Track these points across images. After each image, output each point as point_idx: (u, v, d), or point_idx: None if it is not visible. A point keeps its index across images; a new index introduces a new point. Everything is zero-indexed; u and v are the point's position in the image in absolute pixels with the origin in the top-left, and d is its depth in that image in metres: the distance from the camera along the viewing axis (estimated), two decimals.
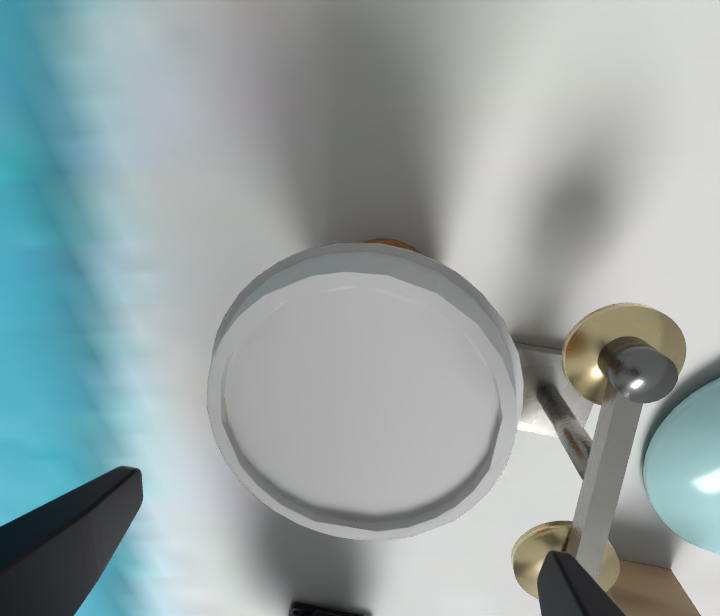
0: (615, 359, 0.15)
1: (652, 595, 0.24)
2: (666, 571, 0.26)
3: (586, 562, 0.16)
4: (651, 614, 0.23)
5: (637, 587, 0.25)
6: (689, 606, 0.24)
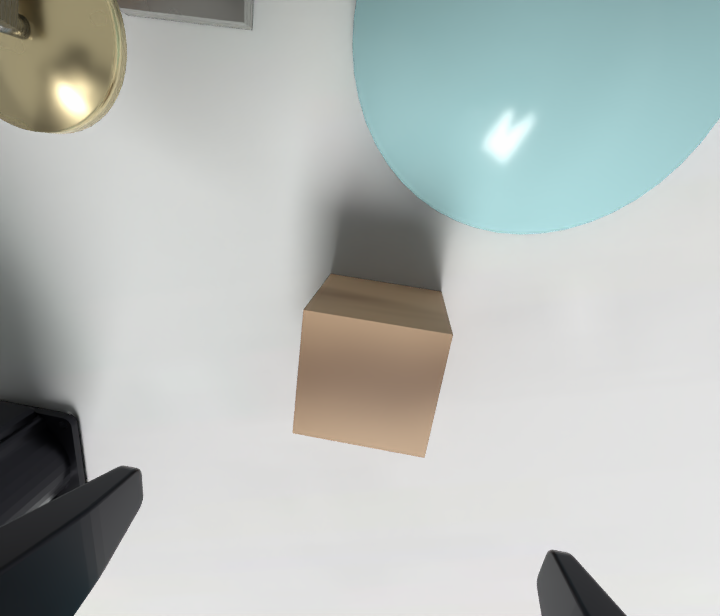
0: None
1: (385, 298, 0.16)
2: (432, 291, 0.17)
3: None
4: (363, 304, 0.15)
5: (367, 292, 0.16)
6: (436, 307, 0.15)
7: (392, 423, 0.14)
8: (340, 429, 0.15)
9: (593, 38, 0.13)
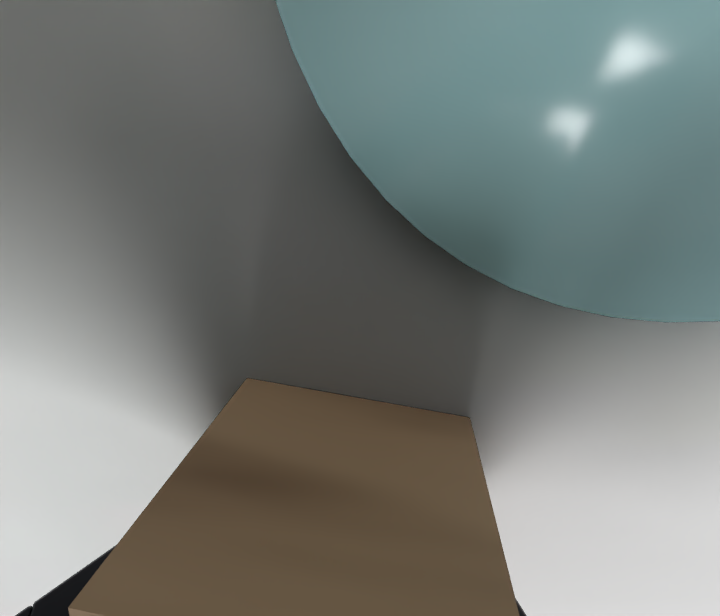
0: None
1: (346, 472, 0.07)
2: (453, 421, 0.08)
3: None
4: (280, 525, 0.06)
5: (307, 450, 0.07)
6: (469, 503, 0.06)
7: None
8: None
9: None
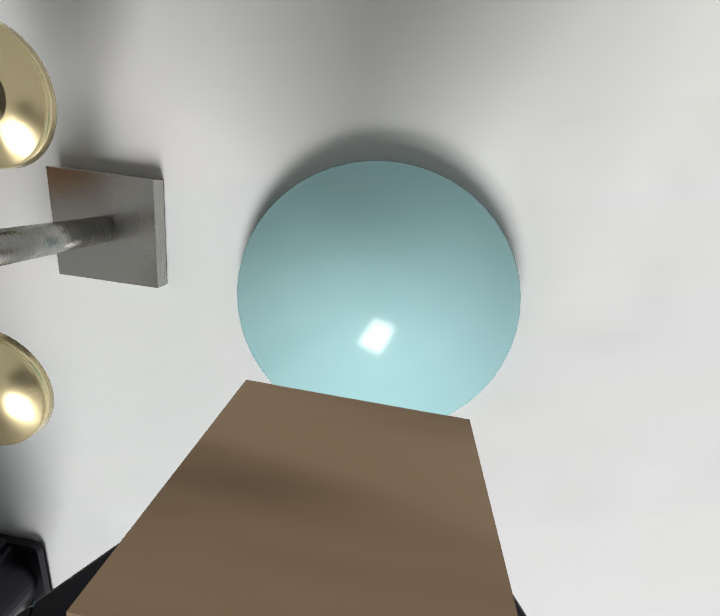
0: None
1: (345, 475, 0.07)
2: (452, 423, 0.08)
3: None
4: (279, 528, 0.05)
5: (306, 452, 0.07)
6: (469, 507, 0.06)
7: None
8: None
9: (407, 312, 0.18)
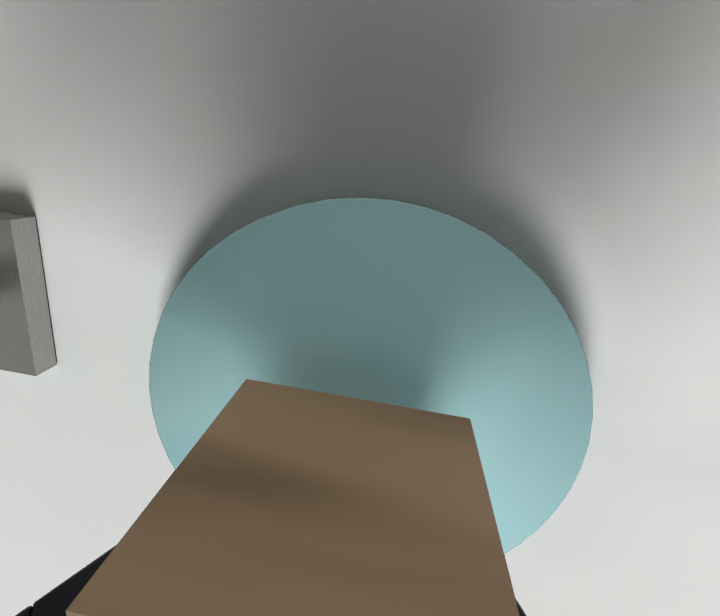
0: None
1: (346, 474, 0.07)
2: (453, 422, 0.08)
3: None
4: (279, 527, 0.05)
5: (307, 452, 0.07)
6: (470, 505, 0.06)
7: None
8: None
9: None
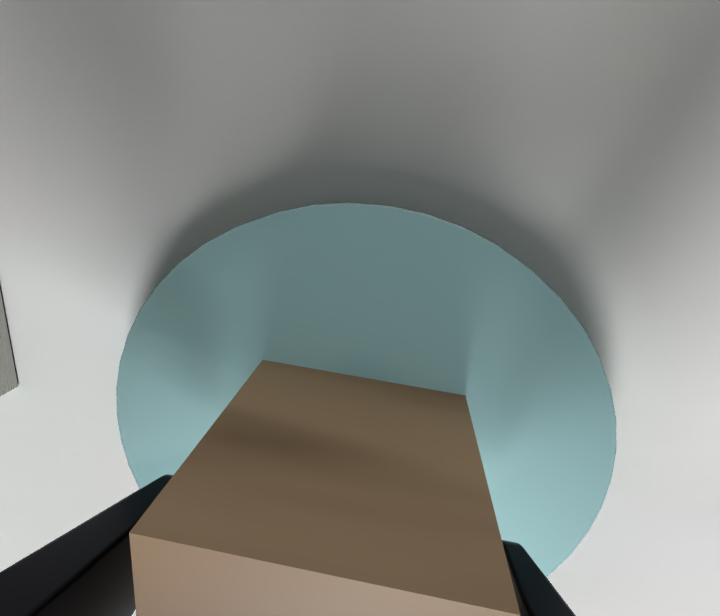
0: None
1: (355, 437, 0.07)
2: (450, 398, 0.09)
3: None
4: (299, 477, 0.06)
5: (320, 419, 0.08)
6: (463, 464, 0.07)
7: None
8: None
9: None
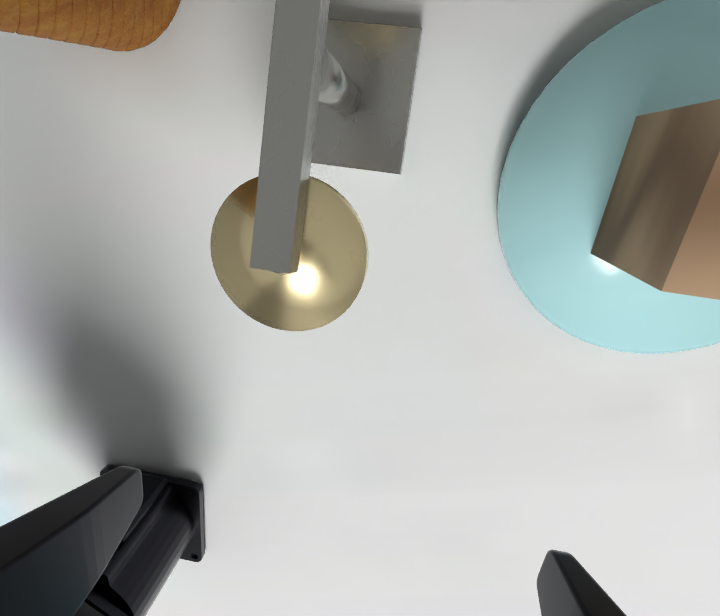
0: None
1: None
2: None
3: (274, 197, 0.09)
4: None
5: None
6: None
7: None
8: None
9: None
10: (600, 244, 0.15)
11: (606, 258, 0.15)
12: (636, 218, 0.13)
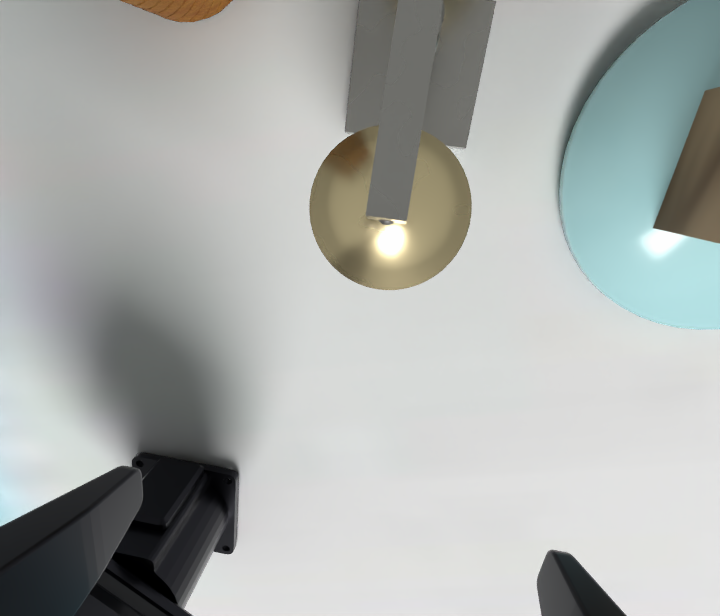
0: None
1: None
2: None
3: (395, 143, 0.09)
4: None
5: None
6: None
7: None
8: None
9: None
10: (666, 218, 0.15)
11: (675, 230, 0.15)
12: (712, 187, 0.13)
